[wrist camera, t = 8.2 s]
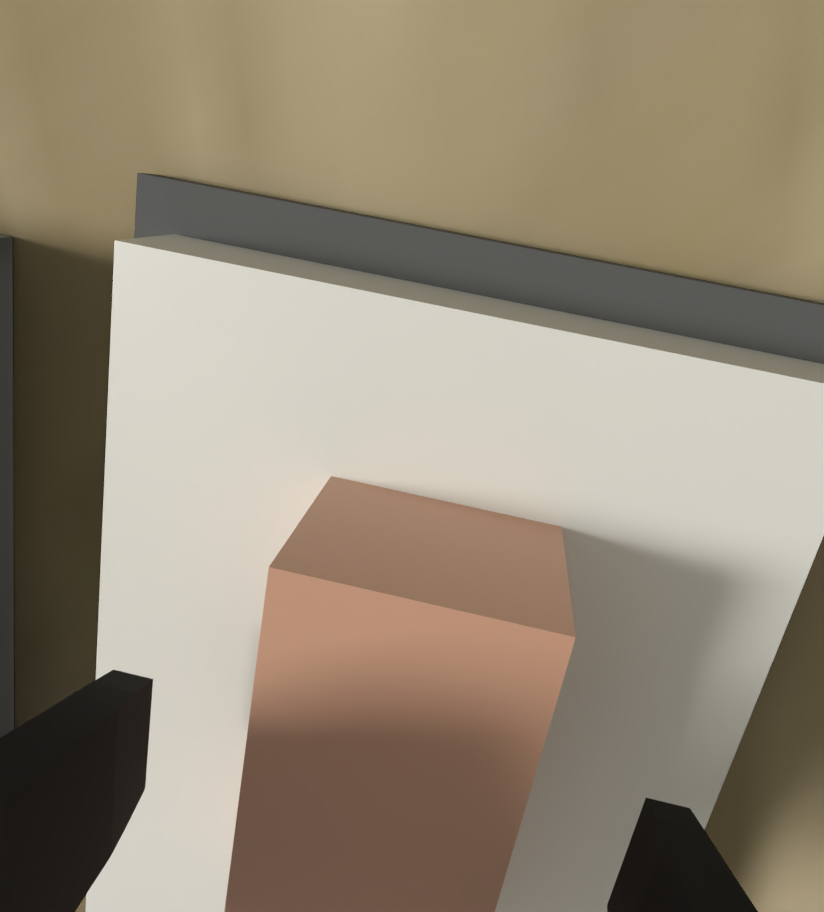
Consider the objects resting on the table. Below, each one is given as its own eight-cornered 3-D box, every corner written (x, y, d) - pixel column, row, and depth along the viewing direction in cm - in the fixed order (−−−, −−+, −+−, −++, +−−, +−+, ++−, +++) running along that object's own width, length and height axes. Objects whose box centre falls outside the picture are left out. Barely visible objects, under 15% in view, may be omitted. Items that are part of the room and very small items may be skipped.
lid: (597, 970, 16) (628, 1278, 12) (132, 849, 17) (-14, 1095, 12) (823, 363, 12) (1024, 471, 7) (175, 234, 13) (-31, 254, 8)
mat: (621, 973, 17) (623, 995, 17) (114, 843, 18) (103, 861, 17) (874, 313, 12) (889, 318, 11) (151, 173, 13) (137, 172, 12)
